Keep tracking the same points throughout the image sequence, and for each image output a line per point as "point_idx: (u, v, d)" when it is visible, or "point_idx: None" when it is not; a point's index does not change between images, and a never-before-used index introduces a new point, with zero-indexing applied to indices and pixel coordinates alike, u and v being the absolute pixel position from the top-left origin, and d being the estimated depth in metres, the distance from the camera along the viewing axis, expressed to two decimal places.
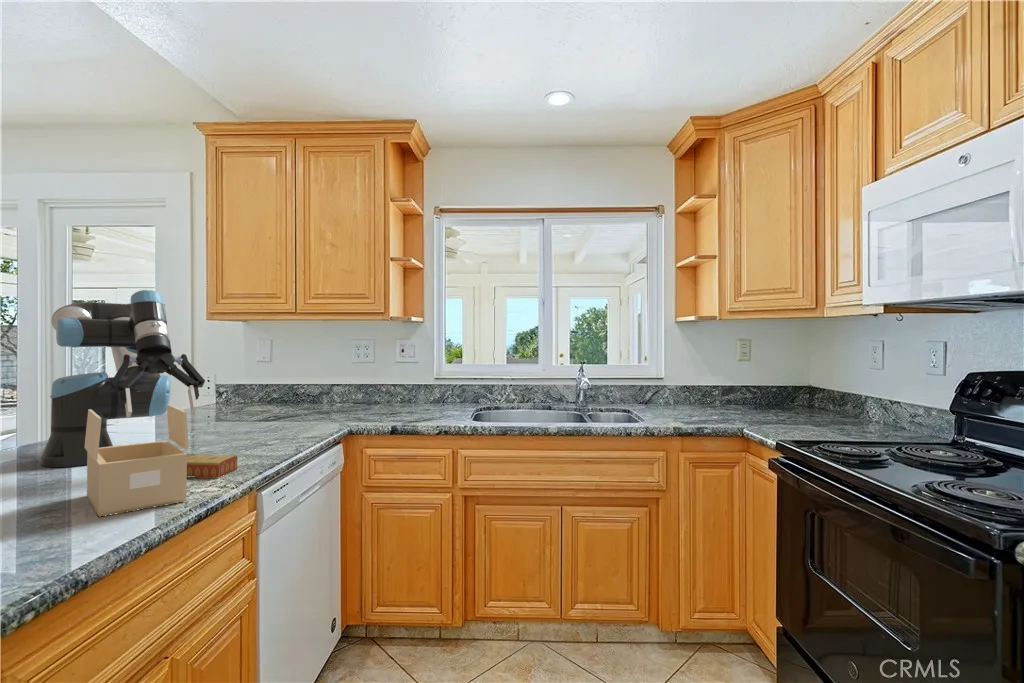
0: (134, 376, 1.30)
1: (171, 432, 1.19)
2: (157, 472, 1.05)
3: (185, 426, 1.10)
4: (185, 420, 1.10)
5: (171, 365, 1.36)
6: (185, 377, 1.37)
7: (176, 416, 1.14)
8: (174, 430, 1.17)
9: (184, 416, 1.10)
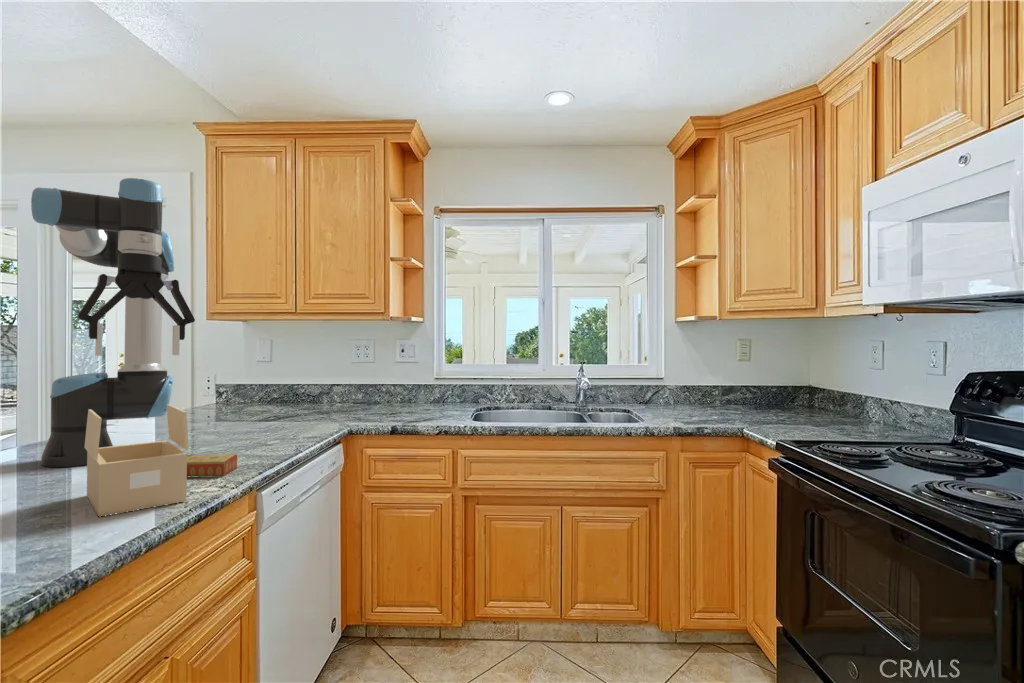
0: (110, 306, 1.06)
1: (171, 432, 1.19)
2: (157, 472, 1.05)
3: (185, 426, 1.10)
4: (185, 420, 1.10)
5: (157, 296, 1.11)
6: (172, 313, 1.14)
7: (176, 416, 1.14)
8: (174, 430, 1.17)
9: (184, 416, 1.10)
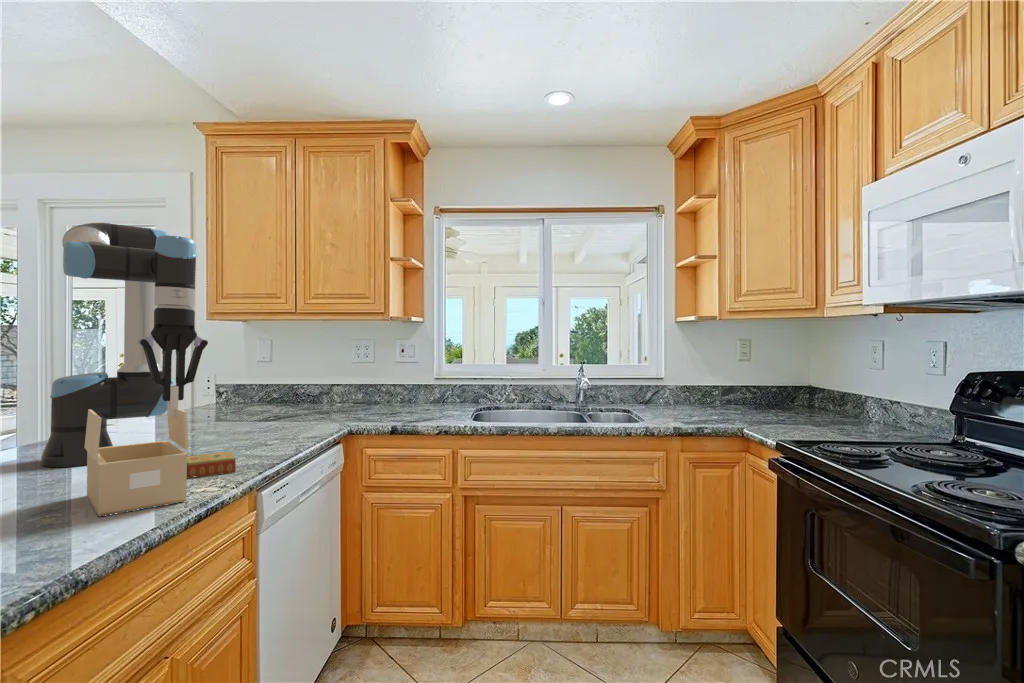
0: (169, 366, 1.13)
1: (171, 432, 1.19)
2: (157, 472, 1.05)
3: (185, 426, 1.10)
4: (185, 420, 1.10)
5: (181, 350, 1.14)
6: (180, 370, 1.15)
7: (176, 416, 1.14)
8: (174, 430, 1.17)
9: (184, 416, 1.10)
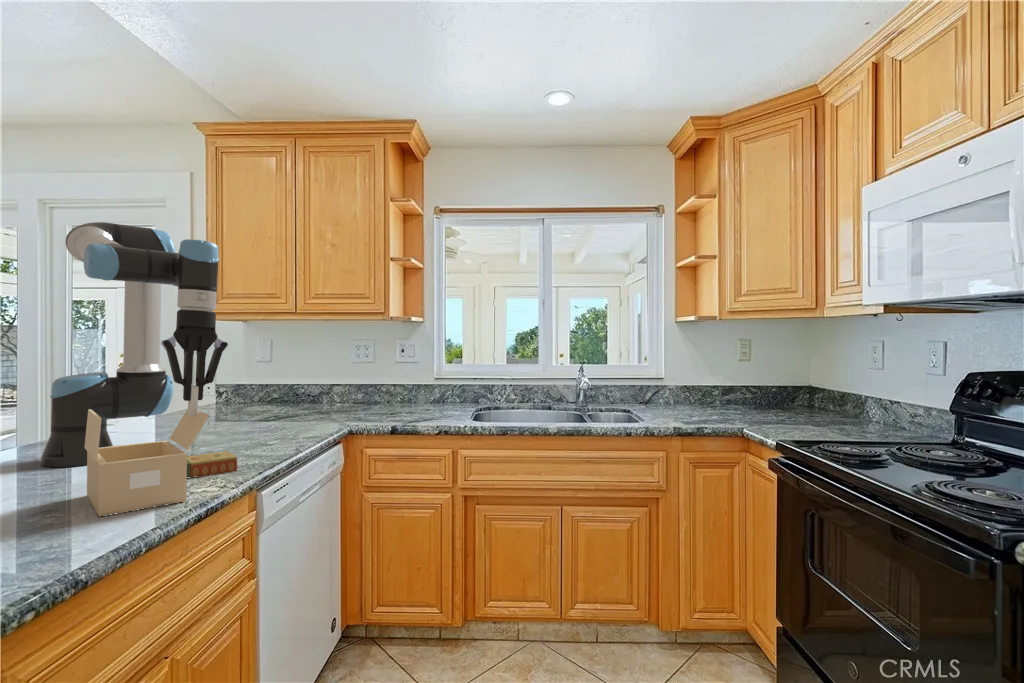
0: (190, 366, 1.16)
1: (177, 432, 1.19)
2: (157, 472, 1.05)
3: (200, 427, 1.12)
4: (204, 422, 1.12)
5: (202, 351, 1.17)
6: (200, 371, 1.17)
7: (194, 417, 1.17)
8: (182, 430, 1.18)
9: (205, 418, 1.13)
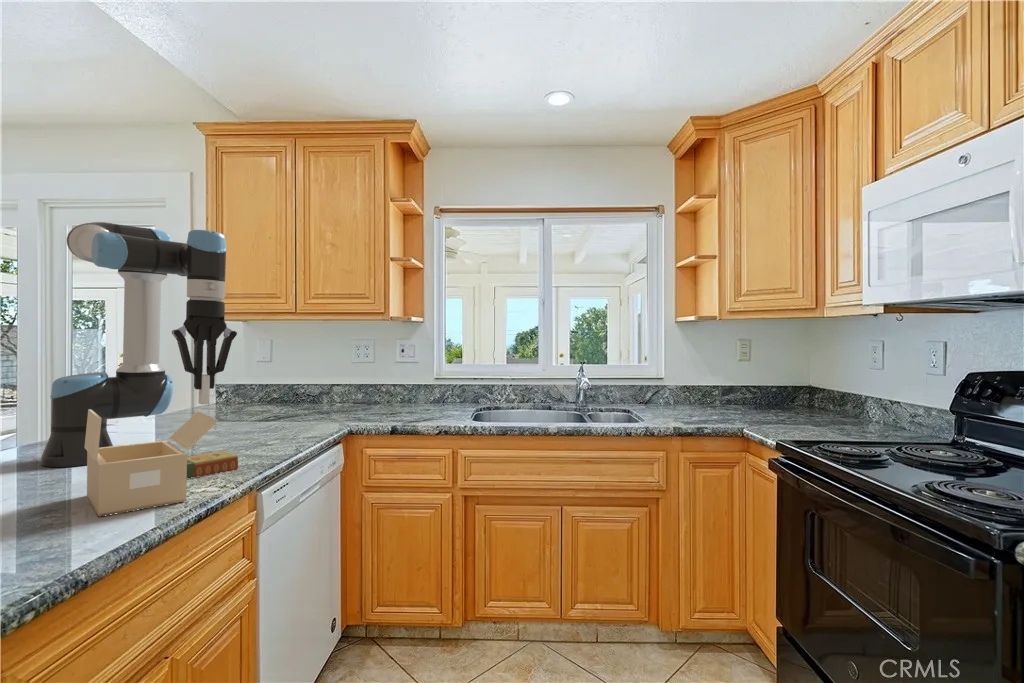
0: (201, 356, 1.18)
1: (179, 433, 1.20)
2: (157, 472, 1.05)
3: (205, 430, 1.13)
4: (210, 426, 1.13)
5: (212, 340, 1.19)
6: (211, 360, 1.19)
7: (201, 421, 1.18)
8: (186, 432, 1.18)
9: (213, 423, 1.14)
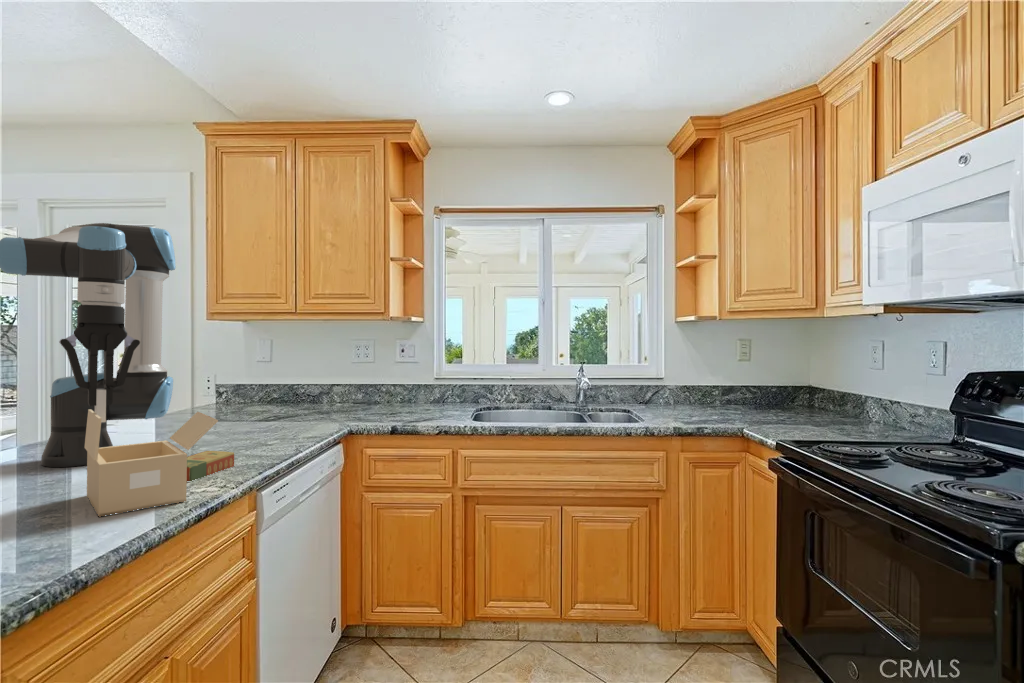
0: (95, 368, 1.04)
1: (179, 433, 1.20)
2: (157, 472, 1.05)
3: (205, 431, 1.13)
4: (210, 426, 1.13)
5: (109, 350, 1.05)
6: (107, 372, 1.06)
7: (201, 421, 1.18)
8: (186, 432, 1.18)
9: (213, 423, 1.14)
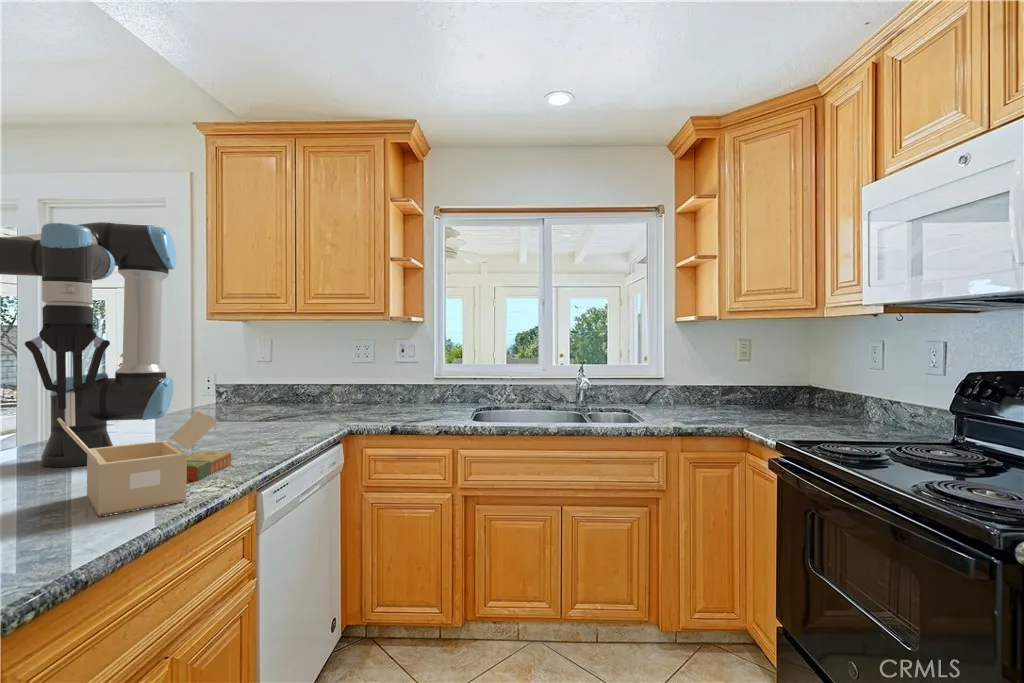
0: (63, 370, 1.01)
1: (179, 433, 1.20)
2: (157, 472, 1.05)
3: (205, 431, 1.13)
4: (210, 426, 1.13)
5: (76, 352, 1.02)
6: (76, 374, 1.02)
7: (201, 421, 1.18)
8: (186, 432, 1.18)
9: (213, 423, 1.14)
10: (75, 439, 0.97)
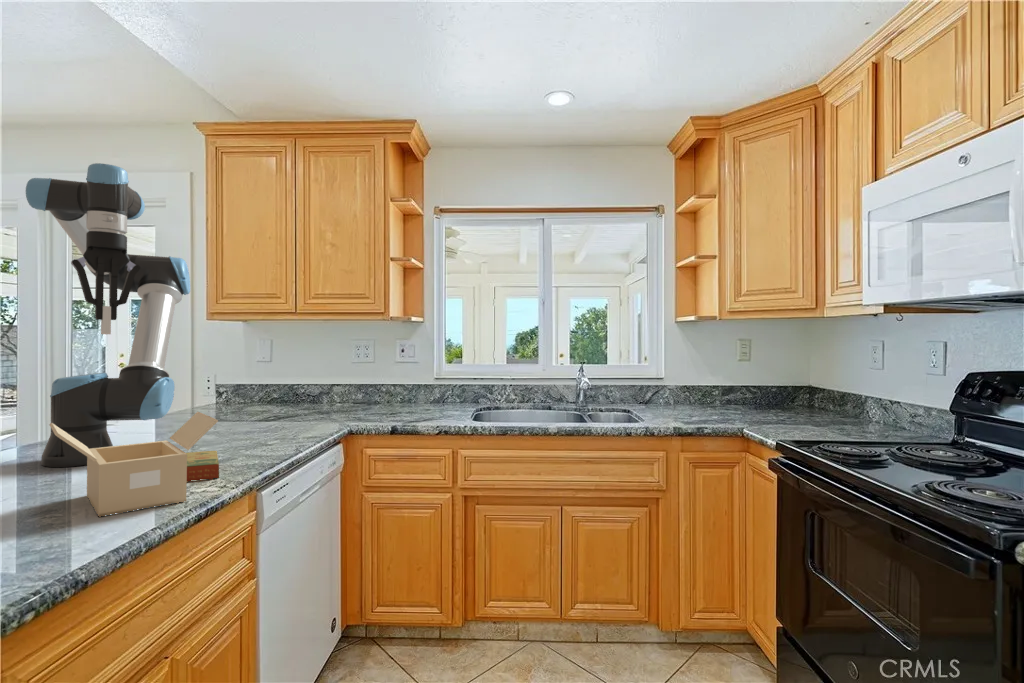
0: (101, 286, 1.21)
1: (179, 433, 1.20)
2: (157, 472, 1.05)
3: (205, 431, 1.13)
4: (210, 426, 1.13)
5: (113, 272, 1.22)
6: (112, 291, 1.22)
7: (201, 421, 1.18)
8: (186, 432, 1.18)
9: (213, 423, 1.14)
10: (70, 443, 0.97)
